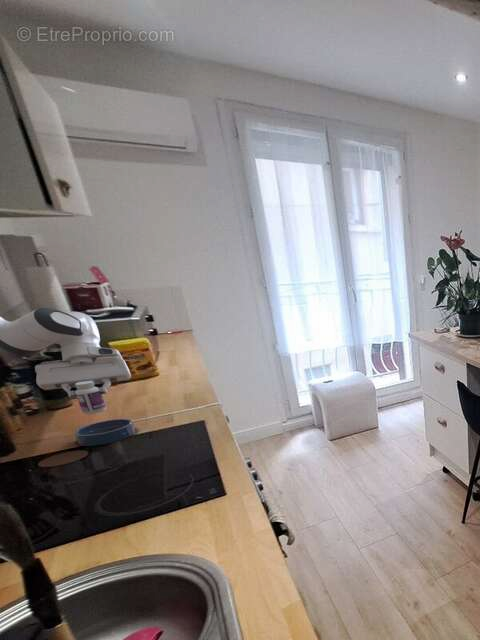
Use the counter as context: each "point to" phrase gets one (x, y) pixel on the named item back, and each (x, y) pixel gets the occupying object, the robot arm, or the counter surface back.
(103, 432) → the bowl
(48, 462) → the coaster
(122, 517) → the counter surface
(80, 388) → the pill bottle
